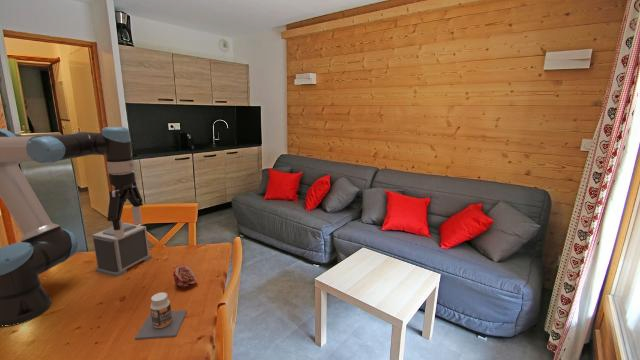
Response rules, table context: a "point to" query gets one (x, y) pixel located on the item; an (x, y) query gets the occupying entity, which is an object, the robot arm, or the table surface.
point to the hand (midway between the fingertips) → (129, 230)
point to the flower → (183, 276)
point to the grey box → (120, 249)
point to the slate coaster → (168, 331)
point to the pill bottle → (160, 310)
